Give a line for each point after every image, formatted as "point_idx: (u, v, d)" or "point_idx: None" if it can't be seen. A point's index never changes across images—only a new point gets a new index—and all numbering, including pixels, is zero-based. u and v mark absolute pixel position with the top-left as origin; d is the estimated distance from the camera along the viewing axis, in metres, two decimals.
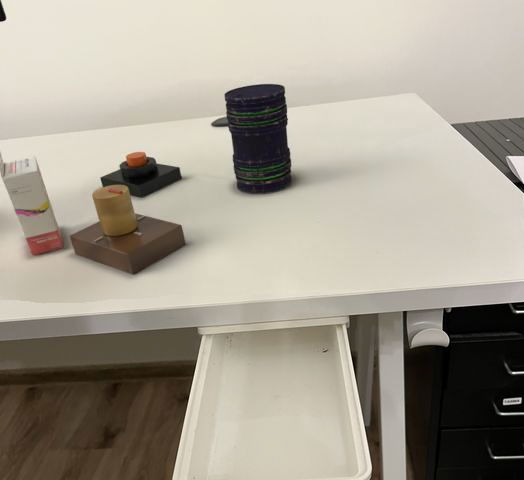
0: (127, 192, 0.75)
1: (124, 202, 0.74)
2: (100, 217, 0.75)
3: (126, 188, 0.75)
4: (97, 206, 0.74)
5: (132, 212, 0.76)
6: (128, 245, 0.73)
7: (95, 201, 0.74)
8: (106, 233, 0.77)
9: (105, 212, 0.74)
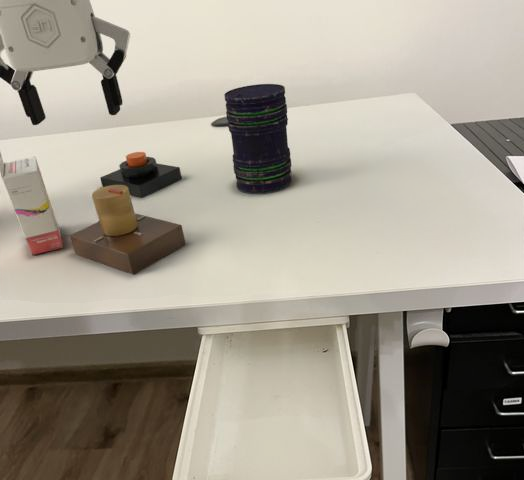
0: (127, 192, 0.75)
1: (124, 202, 0.74)
2: (100, 217, 0.75)
3: (126, 188, 0.75)
4: (97, 206, 0.74)
5: (132, 212, 0.76)
6: (128, 245, 0.73)
7: (95, 201, 0.74)
8: (106, 233, 0.77)
9: (105, 212, 0.74)
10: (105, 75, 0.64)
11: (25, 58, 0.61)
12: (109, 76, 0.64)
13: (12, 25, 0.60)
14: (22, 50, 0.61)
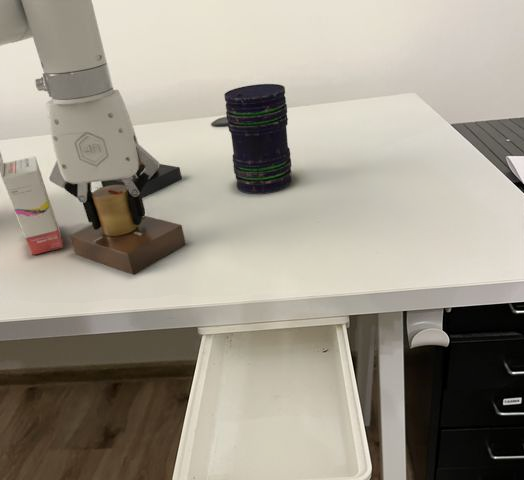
0: (127, 192, 0.75)
1: (124, 202, 0.74)
2: (100, 217, 0.75)
3: (126, 188, 0.75)
4: (97, 206, 0.74)
5: None
6: (128, 245, 0.73)
7: (95, 201, 0.74)
8: (106, 233, 0.77)
9: (105, 212, 0.74)
10: (132, 194, 0.74)
11: (76, 173, 0.71)
12: (135, 195, 0.74)
13: (66, 148, 0.69)
14: (74, 167, 0.70)
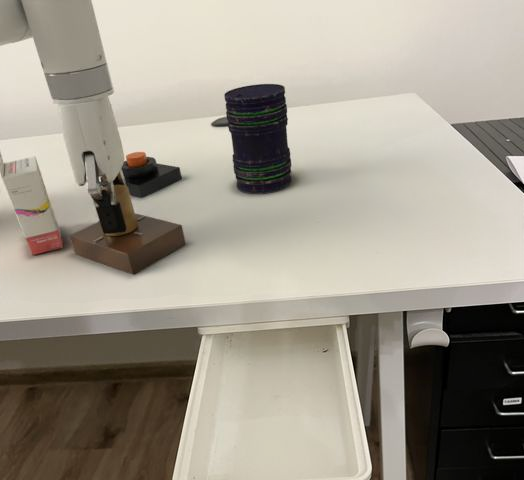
0: None
1: None
2: None
3: None
4: None
5: None
6: (128, 245, 0.73)
7: None
8: None
9: None
10: None
11: None
12: None
13: None
14: None
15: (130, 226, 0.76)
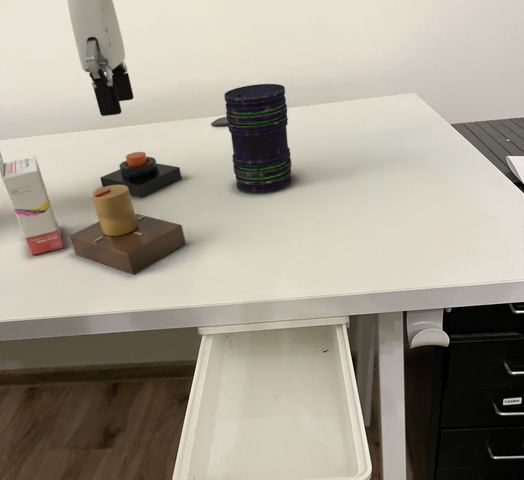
0: (103, 200, 0.73)
1: (98, 207, 0.74)
2: None
3: (108, 196, 0.73)
4: None
5: (108, 220, 0.75)
6: (128, 245, 0.73)
7: None
8: None
9: None
10: None
11: None
12: None
13: None
14: None
15: (130, 226, 0.76)
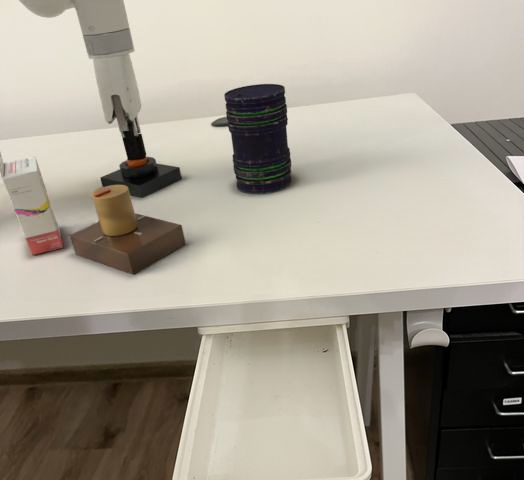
0: (103, 200, 0.73)
1: (98, 207, 0.74)
2: None
3: (108, 196, 0.73)
4: None
5: (108, 220, 0.75)
6: (128, 245, 0.73)
7: None
8: None
9: None
10: None
11: None
12: None
13: None
14: None
15: (130, 226, 0.76)
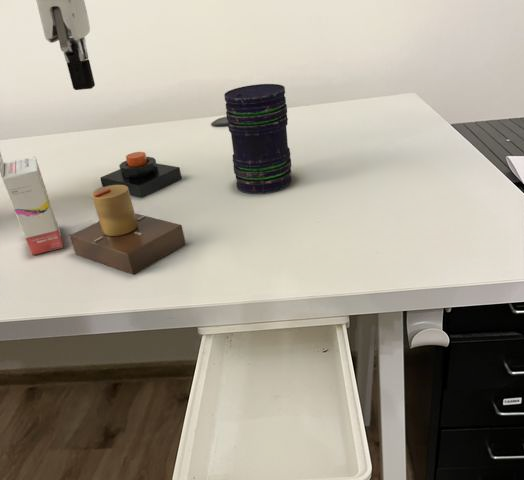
0: (103, 200, 0.73)
1: (98, 207, 0.74)
2: None
3: (108, 196, 0.73)
4: None
5: (108, 220, 0.75)
6: (128, 245, 0.73)
7: None
8: None
9: None
10: None
11: None
12: None
13: None
14: None
15: (130, 226, 0.76)
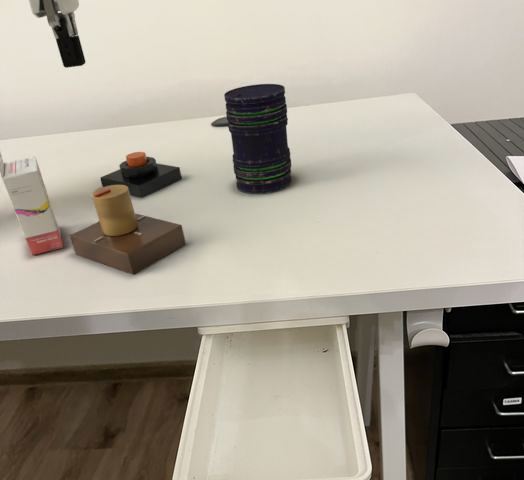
0: (103, 200, 0.73)
1: (98, 207, 0.74)
2: None
3: (108, 196, 0.73)
4: None
5: (108, 220, 0.75)
6: (128, 245, 0.73)
7: None
8: None
9: None
10: None
11: None
12: None
13: None
14: None
15: (130, 226, 0.76)
